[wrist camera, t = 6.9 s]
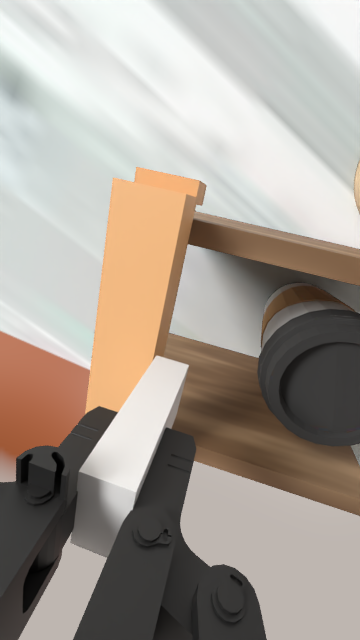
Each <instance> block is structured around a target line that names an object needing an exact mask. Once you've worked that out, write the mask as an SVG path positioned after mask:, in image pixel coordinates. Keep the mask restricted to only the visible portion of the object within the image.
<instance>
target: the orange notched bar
mask: <svg viewBox="0 0 360 640" xmlns="http://www.w3.org/2000/svg"><path fill="white" fill-rule="evenodd" d="M206 186H207V185H205V184H204V183H202V182H201V181H199V180H194V179H190V178H185V177H180V176H176V175H171V174H167V173H162V172H157V171H153V170H148V169H144V168H139V167H136V174H135V181H134V182H131V181H126V180H122V179H117V178H113V182H112V191H111V199H110V208H109V216H108V225H107V233H106V242H105V250H104V259H103V267H102V276H101V284H100V293H99V301H98V309H97V318H96V326H95V335H94V343H93V352H92V360H91V369H90V377H89V386H88V395H87V403H86V412H85V414H86V413H87V412H89V411H91V410H93V409H95V408H96V407H98V406H101V407H104V408H107V409H110V410H113V411H116V412H119V410H120V409H121V408H122V406H123V405H124V403H125V402H126V400H127V399H128V397H129V396H130V394H131V393H132V391H133V390H134V388H135V387H136V385H137V384H138V382H139V381H140V379H141V378H142V376H143V375H144V373H145V372H146V370H147V369H148V367H149V366H150V364H151V363H152V361H153V360H154V358H155V357H156V355H157V356H160V357H163V356H164V352H165V347H166V342H167V338H168V333H169V329H170V324H171V319H172V315H173V310H174V305H175V301H176V296H177V291H178V287H179V282H180V277H181V273H182V268H183V263H184V259H185V254H186V249H187V245H188V240H189V235H190V231H191V226H192V222H193V217H194V212H195V208H196V205H201V206H202V204H203V199H204V195H205V190H206Z"/></svg>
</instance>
